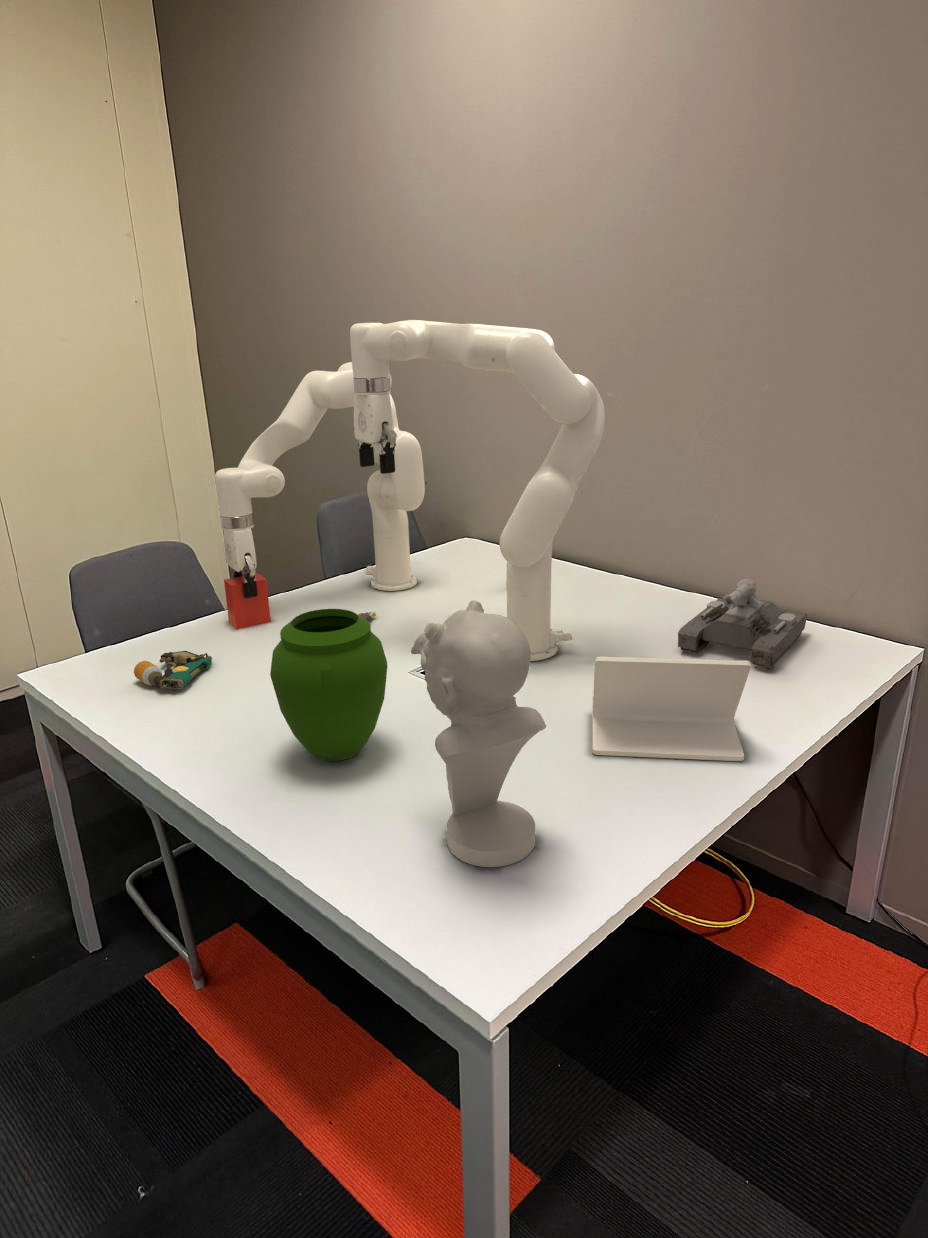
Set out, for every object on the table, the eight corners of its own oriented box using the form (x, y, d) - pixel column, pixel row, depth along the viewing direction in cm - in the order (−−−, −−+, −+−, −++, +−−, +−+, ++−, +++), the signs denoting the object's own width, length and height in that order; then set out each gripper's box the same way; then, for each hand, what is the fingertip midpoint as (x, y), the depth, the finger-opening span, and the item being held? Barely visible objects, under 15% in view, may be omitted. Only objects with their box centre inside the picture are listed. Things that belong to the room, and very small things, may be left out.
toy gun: (311, 634, 194) (352, 630, 192) (338, 611, 212) (376, 607, 210) (313, 645, 195) (354, 642, 193) (340, 621, 213) (378, 618, 211)
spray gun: (177, 659, 191) (231, 671, 185) (120, 684, 176) (176, 698, 171) (176, 641, 190) (230, 653, 184) (118, 665, 175) (174, 678, 169)
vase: (415, 740, 151) (408, 611, 143) (343, 792, 136) (331, 651, 127) (331, 715, 161) (319, 593, 153) (256, 761, 146) (238, 628, 137)
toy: (718, 618, 203) (723, 557, 198) (805, 634, 192) (812, 570, 187) (676, 653, 184) (680, 587, 179) (769, 673, 173) (777, 604, 168)
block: (229, 623, 211) (223, 579, 207) (262, 616, 215) (258, 573, 211) (236, 630, 206) (231, 585, 202) (271, 622, 210) (266, 579, 206)
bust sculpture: (481, 772, 140) (476, 569, 128) (565, 848, 120) (569, 617, 108) (392, 800, 134) (378, 588, 121) (465, 886, 114) (457, 642, 101)
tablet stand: (744, 761, 141) (754, 667, 135) (592, 754, 145) (595, 663, 139) (728, 711, 158) (736, 626, 152) (592, 707, 162) (594, 623, 156)
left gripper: (210, 516, 206) (220, 587, 213) (232, 531, 193) (242, 606, 199) (241, 512, 210) (249, 581, 216) (264, 526, 196) (273, 599, 203)
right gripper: (338, 384, 180) (344, 465, 186) (374, 390, 166) (379, 478, 172) (370, 382, 184) (375, 461, 190) (408, 387, 170) (412, 473, 176)
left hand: (246, 592), depth 208 cm, fingers open, 6 cm apart
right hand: (377, 469), depth 181 cm, fingers open, 9 cm apart
